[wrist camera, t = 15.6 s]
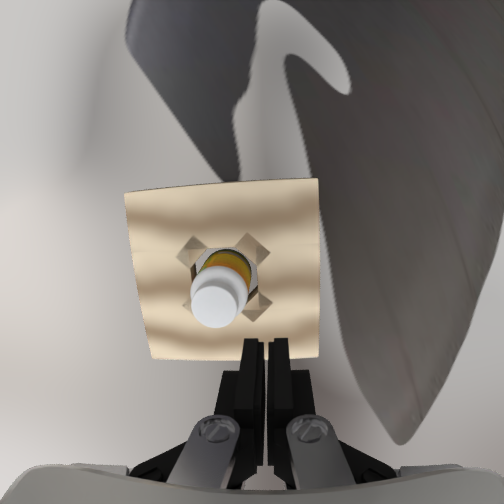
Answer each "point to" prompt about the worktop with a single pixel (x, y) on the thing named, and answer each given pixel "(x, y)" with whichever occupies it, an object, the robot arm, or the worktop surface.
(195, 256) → the plate
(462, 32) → the worktop surface
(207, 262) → the supplement bottle
